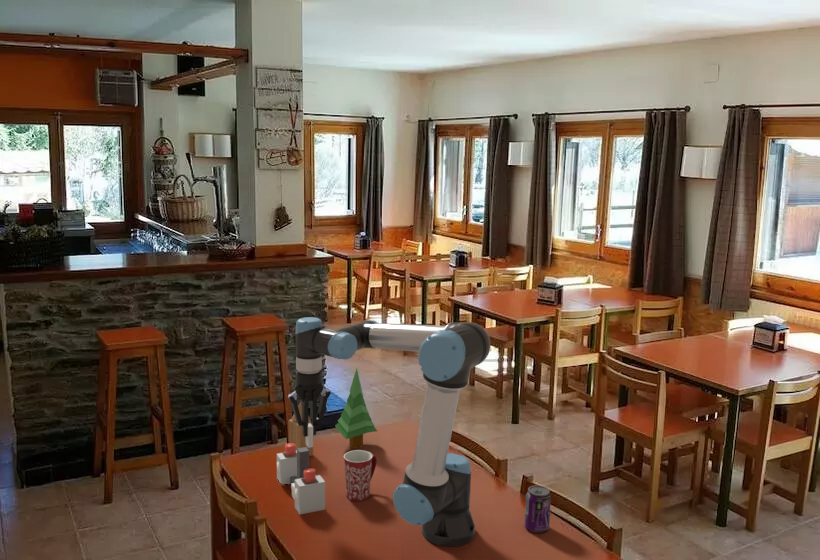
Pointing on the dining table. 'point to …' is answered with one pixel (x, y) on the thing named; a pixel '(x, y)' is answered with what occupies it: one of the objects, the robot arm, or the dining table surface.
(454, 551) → the dining table surface
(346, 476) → the mug
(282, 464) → the far cabinet
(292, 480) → the rail
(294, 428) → the decorative item
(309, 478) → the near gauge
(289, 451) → the red push button
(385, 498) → the dining table surface
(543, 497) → the beverage can
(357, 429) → the decorative tree
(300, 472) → the dark grey tall block
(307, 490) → the near cabinet
